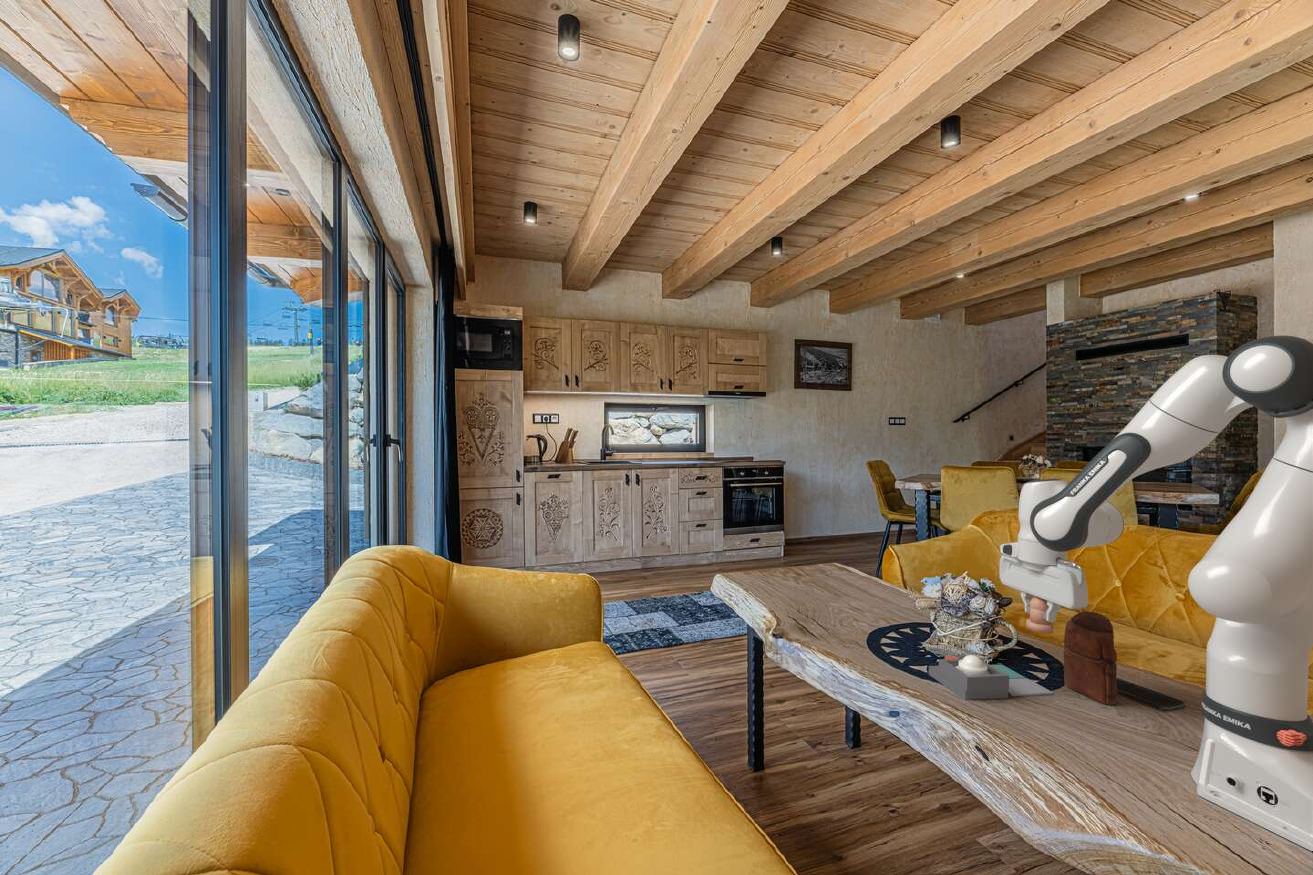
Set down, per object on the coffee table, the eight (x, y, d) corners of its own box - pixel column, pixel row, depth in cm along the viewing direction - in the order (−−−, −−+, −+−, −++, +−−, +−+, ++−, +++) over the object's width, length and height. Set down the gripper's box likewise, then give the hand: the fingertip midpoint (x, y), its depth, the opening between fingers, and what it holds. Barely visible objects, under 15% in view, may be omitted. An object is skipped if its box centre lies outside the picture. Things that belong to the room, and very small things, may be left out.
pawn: (1058, 633, 119) (1059, 599, 119) (1038, 633, 119) (1039, 600, 119) (1040, 625, 124) (1041, 593, 124) (1020, 625, 123) (1021, 593, 123)
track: (1053, 694, 124) (1053, 692, 124) (1011, 696, 122) (1011, 694, 122) (1001, 666, 139) (1001, 664, 139) (964, 667, 138) (964, 665, 138)
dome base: (1009, 698, 121) (1009, 675, 121) (966, 700, 120) (966, 677, 120) (967, 673, 134) (968, 652, 134) (928, 674, 133) (929, 653, 133)
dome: (998, 685, 122) (998, 661, 122) (968, 686, 121) (969, 662, 122) (976, 672, 129) (976, 649, 129) (948, 673, 128) (948, 650, 128)
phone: (1165, 708, 116) (1087, 679, 130) (1165, 713, 116) (1087, 683, 130) (1188, 702, 119) (1109, 674, 133) (1188, 708, 119) (1109, 679, 133)
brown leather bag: (1130, 704, 119) (1131, 619, 120) (1106, 707, 118) (1107, 621, 118) (1077, 681, 131) (1078, 603, 131) (1055, 683, 130) (1056, 605, 130)
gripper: (1098, 564, 111) (1096, 634, 111) (1019, 544, 132) (1017, 602, 132) (1069, 564, 111) (1067, 634, 111) (994, 544, 131) (993, 603, 131)
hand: (1039, 617), depth 121 cm, fingers closed on pawn, 4 cm apart
